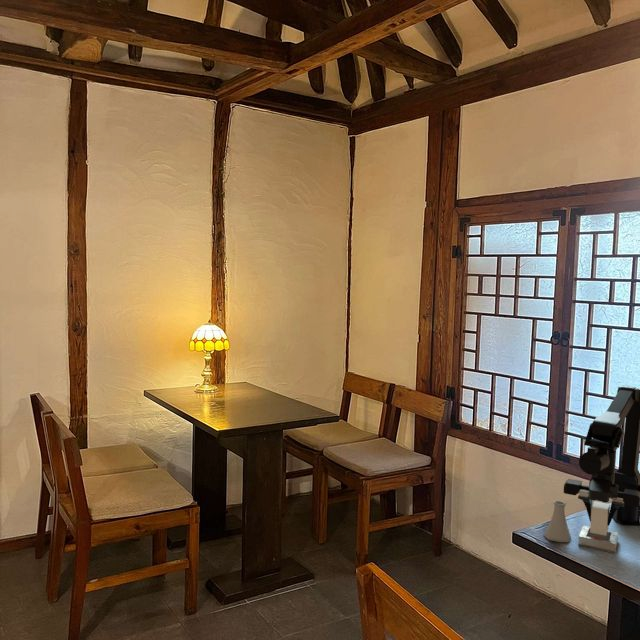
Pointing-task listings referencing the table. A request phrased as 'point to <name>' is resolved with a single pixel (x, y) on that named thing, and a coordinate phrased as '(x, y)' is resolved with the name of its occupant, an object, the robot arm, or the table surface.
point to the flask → (558, 524)
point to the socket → (598, 540)
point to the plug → (599, 518)
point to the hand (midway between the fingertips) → (599, 523)
